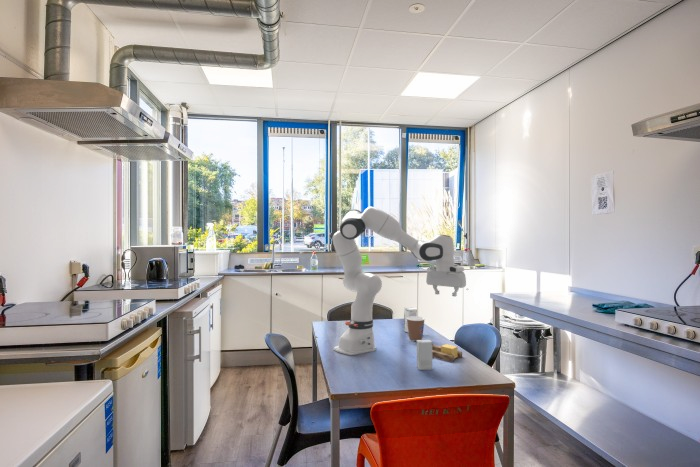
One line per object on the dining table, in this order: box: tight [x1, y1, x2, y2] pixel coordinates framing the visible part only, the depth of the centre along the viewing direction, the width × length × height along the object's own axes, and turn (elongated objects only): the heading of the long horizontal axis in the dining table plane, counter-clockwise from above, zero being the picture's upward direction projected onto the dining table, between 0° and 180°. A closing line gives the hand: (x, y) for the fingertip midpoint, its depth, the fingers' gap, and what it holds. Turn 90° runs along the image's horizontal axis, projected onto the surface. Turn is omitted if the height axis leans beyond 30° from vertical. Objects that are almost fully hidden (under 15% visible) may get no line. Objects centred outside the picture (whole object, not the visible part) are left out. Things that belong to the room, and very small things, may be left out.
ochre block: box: [441, 343, 459, 360], centre depth 175 cm, size 6×5×5 cm
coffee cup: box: [407, 315, 426, 342], centre depth 206 cm, size 10×10×12 cm
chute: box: [432, 342, 463, 363], centre depth 179 cm, size 17×11×3 cm, turn 46°
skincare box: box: [416, 339, 433, 371], centre depth 160 cm, size 6×4×12 cm
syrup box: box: [403, 307, 418, 334], centre depth 223 cm, size 6×6×14 cm
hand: (445, 295), depth 181 cm, fingers open, 8 cm apart
